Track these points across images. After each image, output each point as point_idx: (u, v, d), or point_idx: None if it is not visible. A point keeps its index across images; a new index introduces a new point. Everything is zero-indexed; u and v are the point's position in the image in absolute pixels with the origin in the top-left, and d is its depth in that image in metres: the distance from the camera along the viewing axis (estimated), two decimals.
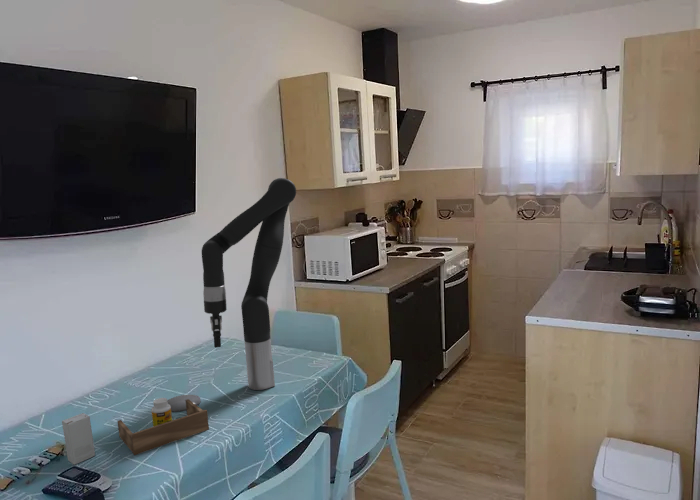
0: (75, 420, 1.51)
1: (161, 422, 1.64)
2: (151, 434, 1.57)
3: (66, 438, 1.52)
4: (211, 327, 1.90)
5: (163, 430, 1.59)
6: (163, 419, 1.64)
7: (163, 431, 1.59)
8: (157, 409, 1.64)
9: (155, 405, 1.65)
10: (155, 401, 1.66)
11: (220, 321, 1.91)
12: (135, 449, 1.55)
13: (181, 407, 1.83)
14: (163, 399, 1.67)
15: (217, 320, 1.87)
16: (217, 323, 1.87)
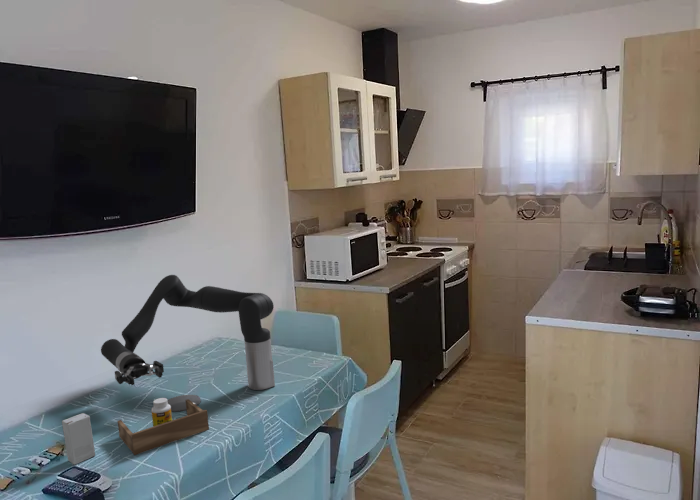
0: (75, 420, 1.51)
1: (161, 422, 1.64)
2: (151, 434, 1.57)
3: (66, 438, 1.52)
4: (150, 364, 1.81)
5: (163, 430, 1.59)
6: (163, 419, 1.64)
7: (163, 431, 1.59)
8: (157, 409, 1.64)
9: (155, 405, 1.65)
10: (155, 401, 1.66)
11: None
12: (135, 449, 1.55)
13: (181, 407, 1.83)
14: (163, 399, 1.67)
15: None
16: None
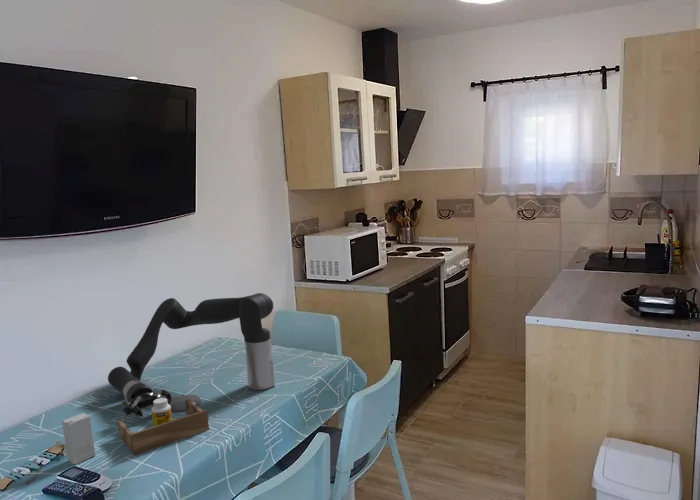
0: (75, 420, 1.51)
1: (161, 422, 1.64)
2: (151, 434, 1.57)
3: (66, 438, 1.52)
4: None
5: (163, 430, 1.59)
6: (163, 419, 1.64)
7: (163, 431, 1.59)
8: (157, 409, 1.64)
9: (155, 405, 1.65)
10: (155, 401, 1.66)
11: None
12: (135, 449, 1.55)
13: (181, 407, 1.83)
14: (163, 399, 1.67)
15: None
16: None
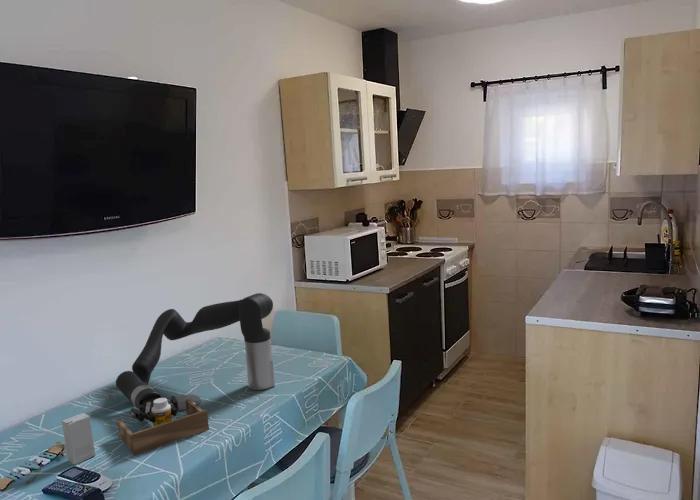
0: (75, 420, 1.51)
1: (161, 422, 1.64)
2: (151, 434, 1.57)
3: (66, 438, 1.52)
4: None
5: (163, 430, 1.59)
6: (163, 419, 1.64)
7: (163, 431, 1.59)
8: (157, 409, 1.64)
9: (155, 405, 1.65)
10: (155, 401, 1.66)
11: None
12: (135, 449, 1.55)
13: (181, 407, 1.83)
14: (163, 399, 1.67)
15: None
16: None
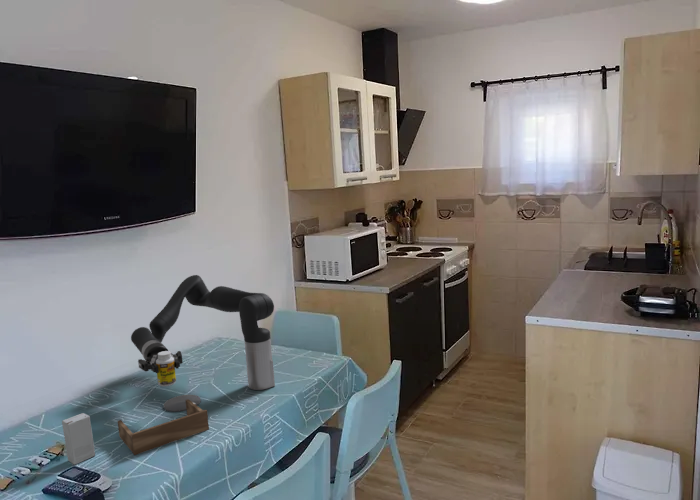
0: (75, 420, 1.51)
1: (163, 373, 1.73)
2: (151, 434, 1.57)
3: (66, 438, 1.52)
4: (171, 354, 1.81)
5: (163, 430, 1.59)
6: (166, 370, 1.73)
7: (163, 431, 1.59)
8: (160, 360, 1.73)
9: (159, 357, 1.74)
10: (159, 353, 1.75)
11: None
12: (135, 449, 1.55)
13: (181, 407, 1.83)
14: (167, 352, 1.76)
15: None
16: None
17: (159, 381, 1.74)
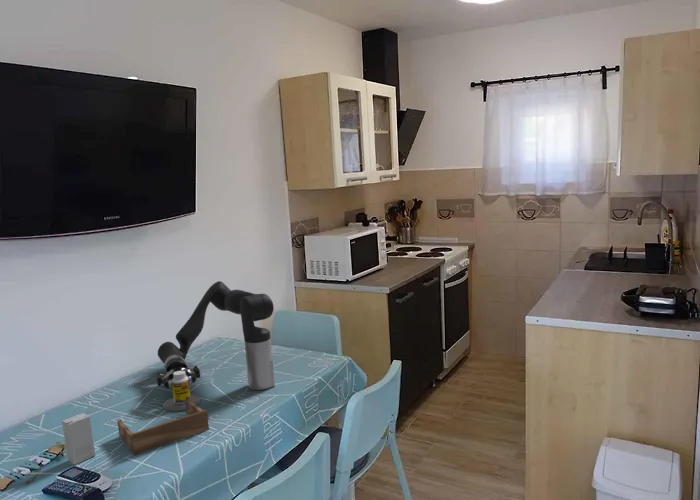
0: (75, 420, 1.51)
1: (177, 391, 1.84)
2: (151, 434, 1.57)
3: (66, 438, 1.52)
4: (188, 369, 1.92)
5: (163, 430, 1.59)
6: (180, 389, 1.84)
7: (163, 431, 1.59)
8: (175, 380, 1.85)
9: (174, 376, 1.85)
10: (175, 373, 1.86)
11: None
12: (135, 449, 1.55)
13: (181, 407, 1.83)
14: (182, 372, 1.87)
15: None
16: None
17: (174, 399, 1.85)
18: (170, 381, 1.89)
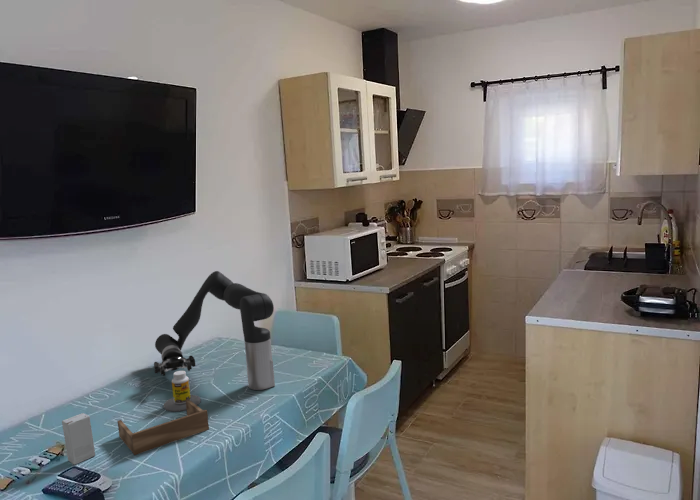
0: (75, 420, 1.51)
1: (178, 391, 1.84)
2: (151, 434, 1.57)
3: (66, 438, 1.52)
4: (184, 358, 2.04)
5: (163, 430, 1.59)
6: (180, 389, 1.84)
7: (163, 431, 1.59)
8: (175, 380, 1.85)
9: (174, 376, 1.85)
10: (175, 373, 1.86)
11: None
12: (135, 449, 1.55)
13: (181, 407, 1.83)
14: (182, 372, 1.87)
15: None
16: None
17: (174, 399, 1.85)
18: (167, 369, 2.01)
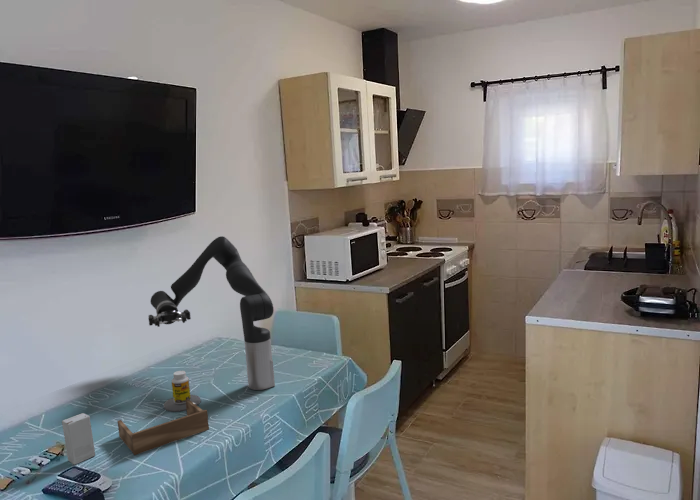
0: (75, 420, 1.51)
1: (177, 391, 1.84)
2: (151, 434, 1.57)
3: (66, 438, 1.52)
4: (179, 311, 2.02)
5: (163, 430, 1.59)
6: (180, 389, 1.84)
7: (163, 431, 1.59)
8: (175, 380, 1.85)
9: (174, 376, 1.85)
10: (175, 373, 1.86)
11: None
12: (135, 449, 1.55)
13: (181, 407, 1.83)
14: (182, 372, 1.87)
15: None
16: None
17: (174, 399, 1.85)
18: (161, 322, 1.99)
